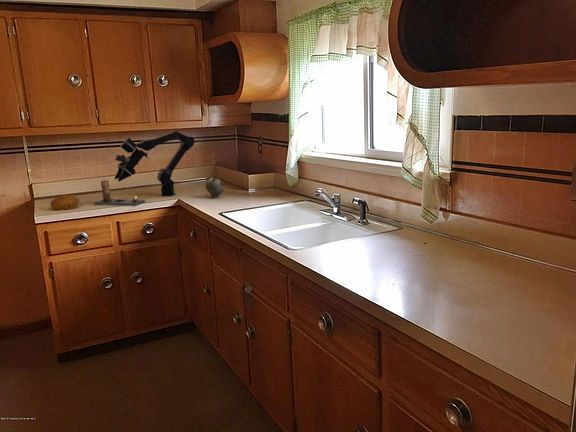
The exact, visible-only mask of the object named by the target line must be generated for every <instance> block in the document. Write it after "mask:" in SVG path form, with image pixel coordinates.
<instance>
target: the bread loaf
mask: <svg viewBox="0 0 576 432" xmlns="http://www.w3.org/2000/svg"><path fill="white" fill-rule="evenodd" d="M79 202H80V199H79V198H78V197H77V196H75V195H73V194H70V193H68V194H62V195H59V196H57V197H55V198H53V200H51V201H50V207H51V209H52V210H54V211H62V210H63V211H67V210H74V209H76V208H77V207H78V206H79V204H80V203H79Z"/></svg>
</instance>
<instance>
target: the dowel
mask: <svg viewBox="0 0 576 432" xmlns="http://www.w3.org/2000/svg"><path fill="white" fill-rule="evenodd" d="M100 185H101V193H102V199H103V202H109V201H111V199H112V198H111V190H110V180H107V179H106V180H101V181H100Z"/></svg>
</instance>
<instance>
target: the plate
mask: <svg viewBox="0 0 576 432" xmlns="http://www.w3.org/2000/svg"><path fill="white" fill-rule="evenodd" d="M93 203H94V205H95V206H98V205H99V206H127V207H130V206H132V207H137V206H139V205H142V204H144V203H146V200H145V199H138V195H132V199H131V198H129V199H128V198H127V199H126V198H111V201H109V202H103V198H102V199H99V200H97V201H94V202H93Z"/></svg>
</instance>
